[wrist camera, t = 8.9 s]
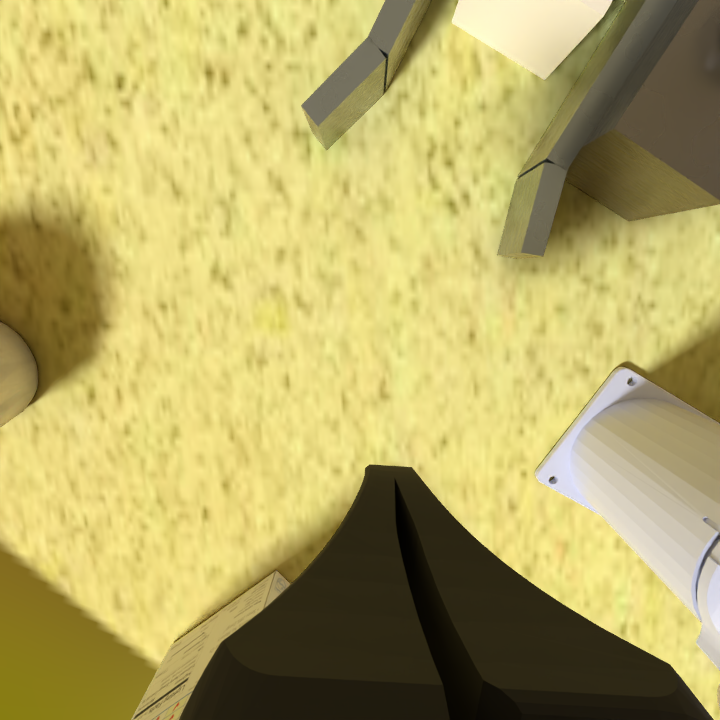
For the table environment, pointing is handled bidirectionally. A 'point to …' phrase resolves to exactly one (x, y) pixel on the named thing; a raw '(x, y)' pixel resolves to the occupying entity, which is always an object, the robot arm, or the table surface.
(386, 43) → the motor bracket
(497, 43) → the block
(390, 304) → the table surface
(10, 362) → the cupcake
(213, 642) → the light bulb box
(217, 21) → the table surface
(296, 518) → the table surface
